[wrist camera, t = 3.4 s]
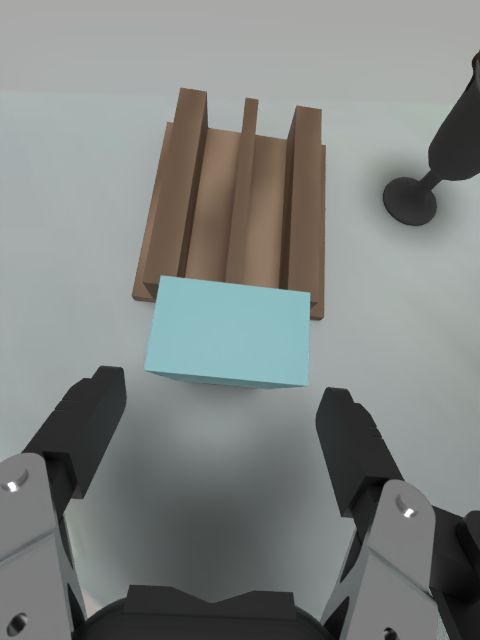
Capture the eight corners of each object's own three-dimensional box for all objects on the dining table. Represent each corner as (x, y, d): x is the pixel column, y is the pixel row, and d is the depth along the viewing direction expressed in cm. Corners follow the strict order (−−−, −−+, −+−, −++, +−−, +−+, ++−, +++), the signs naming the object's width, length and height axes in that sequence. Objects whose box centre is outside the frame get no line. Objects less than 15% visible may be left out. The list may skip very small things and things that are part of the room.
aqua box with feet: (261, 345, 20) (310, 292, 10) (258, 389, 19) (308, 385, 9) (190, 337, 20) (160, 275, 9) (183, 382, 19) (143, 370, 9)
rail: (322, 152, 25) (340, 112, 22) (320, 320, 21) (341, 304, 17) (168, 130, 25) (160, 84, 21) (134, 299, 20) (116, 279, 17)
